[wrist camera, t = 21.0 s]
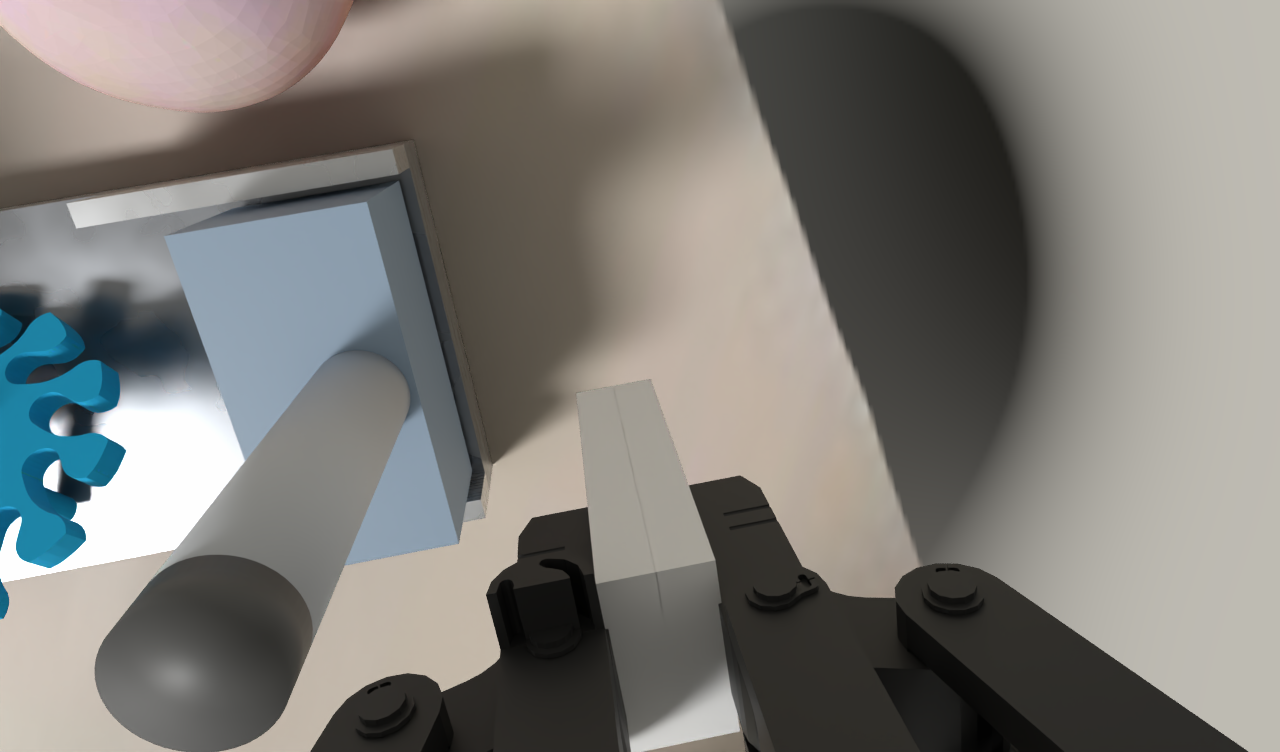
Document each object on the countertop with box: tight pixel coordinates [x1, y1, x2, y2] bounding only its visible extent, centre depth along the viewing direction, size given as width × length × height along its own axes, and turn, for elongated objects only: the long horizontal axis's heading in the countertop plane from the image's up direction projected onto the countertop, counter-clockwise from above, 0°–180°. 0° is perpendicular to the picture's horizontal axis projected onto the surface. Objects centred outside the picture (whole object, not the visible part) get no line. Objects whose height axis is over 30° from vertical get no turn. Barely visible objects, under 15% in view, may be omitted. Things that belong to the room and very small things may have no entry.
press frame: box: [0, 140, 493, 582], centre depth 23 cm, size 12×24×10 cm, turn 99°
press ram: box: [95, 180, 472, 752], centre depth 19 cm, size 10×5×16 cm, turn 9°
